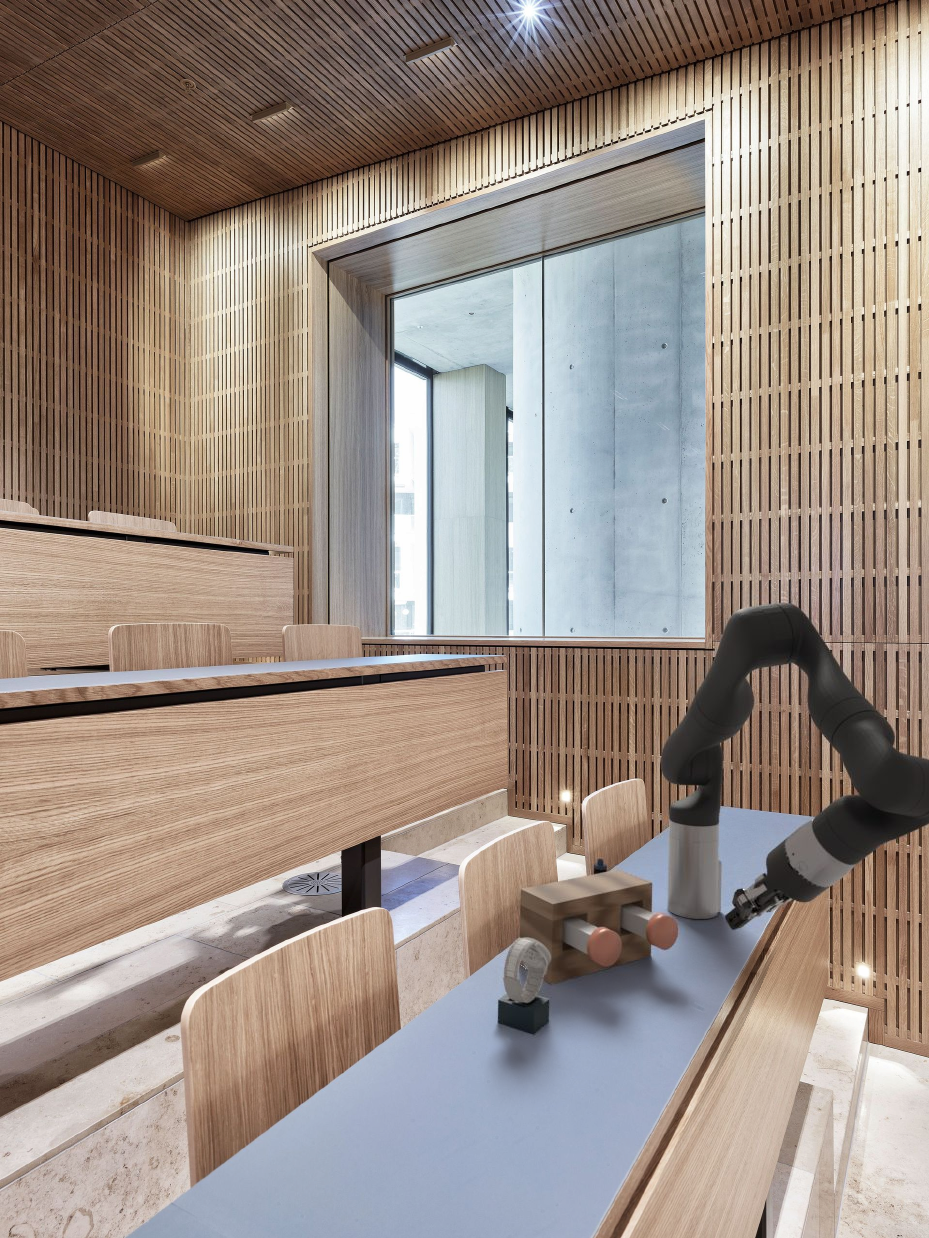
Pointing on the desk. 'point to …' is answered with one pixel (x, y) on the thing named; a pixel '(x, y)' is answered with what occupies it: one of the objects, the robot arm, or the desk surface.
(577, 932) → the knob
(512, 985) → the watch
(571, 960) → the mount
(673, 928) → the knob
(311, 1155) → the desk surface
